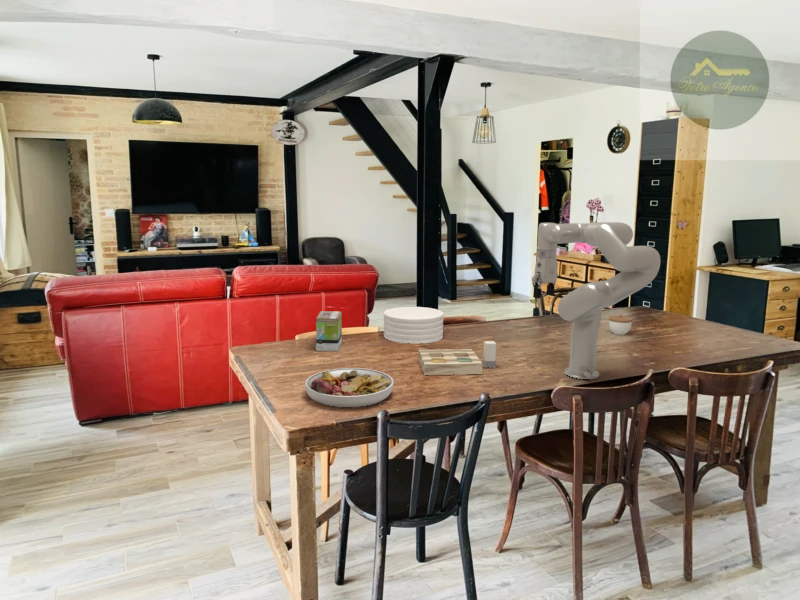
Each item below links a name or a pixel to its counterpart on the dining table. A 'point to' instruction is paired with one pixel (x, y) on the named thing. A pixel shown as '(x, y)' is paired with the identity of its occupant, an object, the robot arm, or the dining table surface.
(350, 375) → the bowl
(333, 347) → the tea box
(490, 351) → the plug
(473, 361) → the socket block
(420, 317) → the plate stack
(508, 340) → the dining table surface
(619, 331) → the lidded jar
